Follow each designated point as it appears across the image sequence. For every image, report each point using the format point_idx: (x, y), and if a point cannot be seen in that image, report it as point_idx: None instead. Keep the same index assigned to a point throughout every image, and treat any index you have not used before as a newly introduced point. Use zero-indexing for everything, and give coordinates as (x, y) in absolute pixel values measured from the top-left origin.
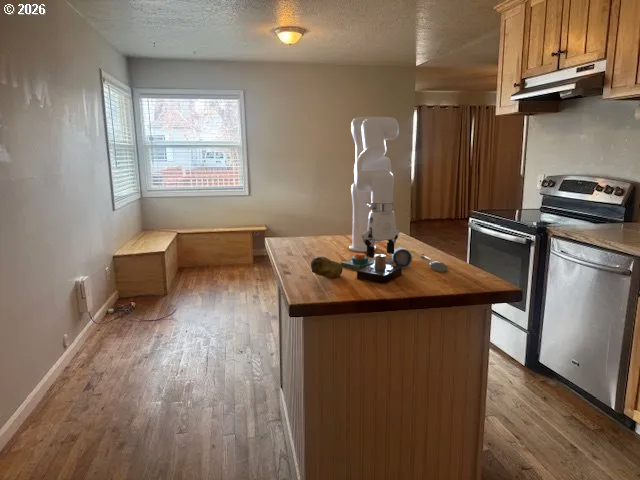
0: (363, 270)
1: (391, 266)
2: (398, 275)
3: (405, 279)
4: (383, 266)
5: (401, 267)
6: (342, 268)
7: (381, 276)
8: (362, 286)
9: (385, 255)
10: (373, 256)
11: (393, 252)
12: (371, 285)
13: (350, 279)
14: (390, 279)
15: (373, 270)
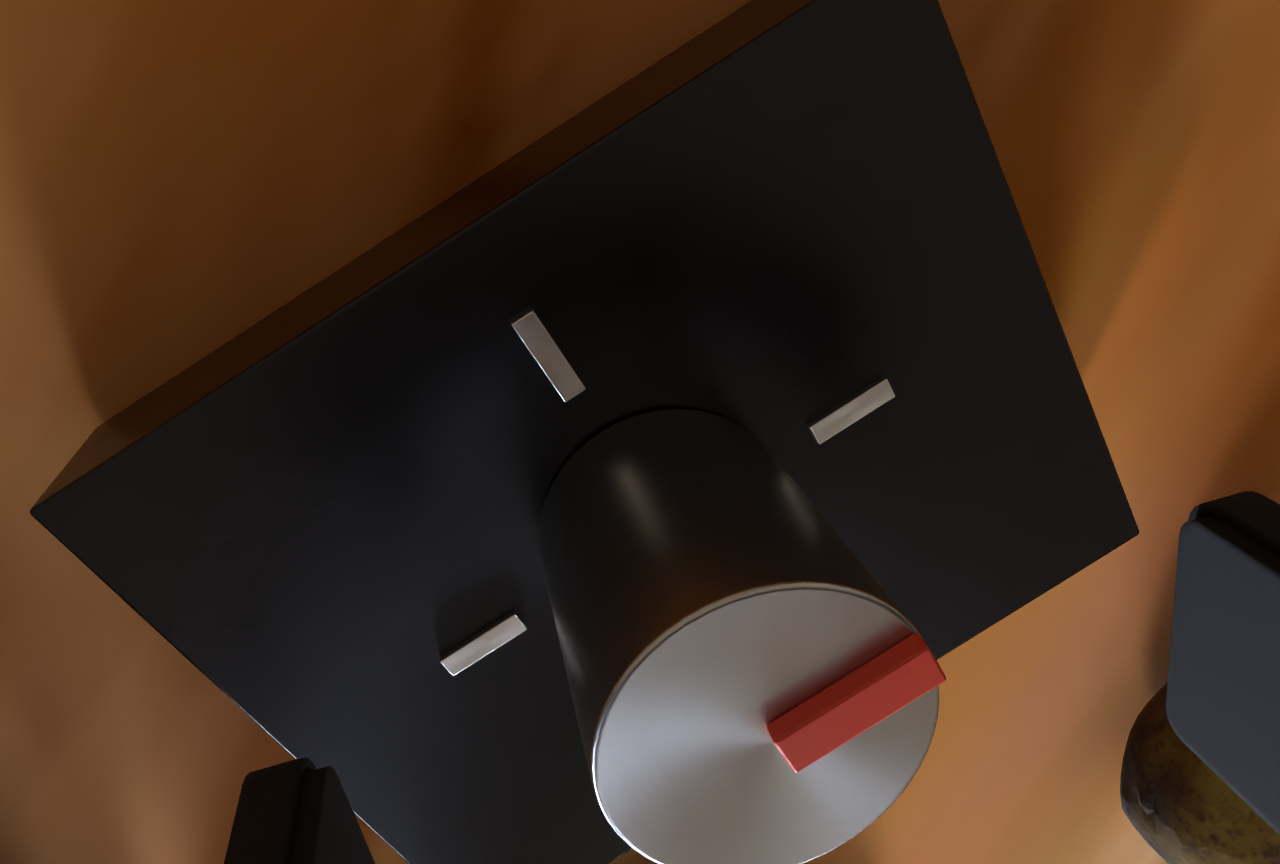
0: (1028, 521)
1: (293, 628)
2: (236, 340)
3: (167, 83)
4: (676, 443)
5: (58, 491)
6: (1193, 755)
7: (932, 24)
8: (1243, 27)
9: (622, 701)
10: (1235, 510)
11: (271, 796)
12: (1079, 8)
13: (1136, 473)
14: (585, 115)
15: (859, 460)
